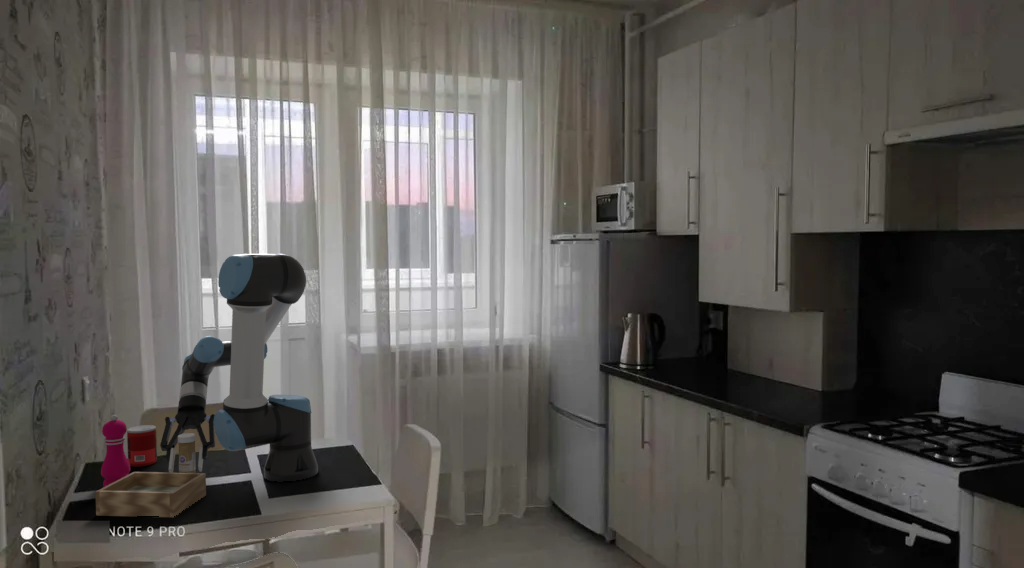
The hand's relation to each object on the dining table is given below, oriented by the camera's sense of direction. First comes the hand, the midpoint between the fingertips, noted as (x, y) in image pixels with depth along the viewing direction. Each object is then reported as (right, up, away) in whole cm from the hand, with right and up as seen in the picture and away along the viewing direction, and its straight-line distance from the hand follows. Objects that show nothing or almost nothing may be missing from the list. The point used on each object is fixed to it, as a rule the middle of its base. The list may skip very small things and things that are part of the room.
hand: (185, 470), depth 203 cm
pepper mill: (-19, -5, 0) cm, 20 cm away
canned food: (-23, -4, +21) cm, 31 cm away
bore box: (-1, -5, -15) cm, 16 cm away
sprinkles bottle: (-1, -4, +4) cm, 6 cm away
